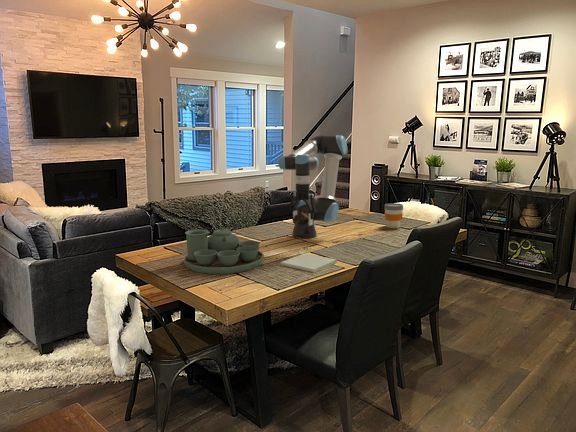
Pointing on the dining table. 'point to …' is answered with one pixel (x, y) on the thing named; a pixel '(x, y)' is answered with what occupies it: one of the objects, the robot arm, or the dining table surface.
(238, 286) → the dining table surface
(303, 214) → the pottery mug
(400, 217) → the reusable coffee cup
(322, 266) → the sage tile
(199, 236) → the tea set
